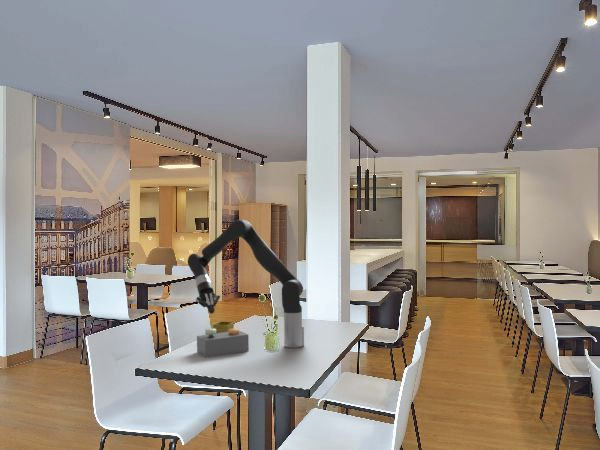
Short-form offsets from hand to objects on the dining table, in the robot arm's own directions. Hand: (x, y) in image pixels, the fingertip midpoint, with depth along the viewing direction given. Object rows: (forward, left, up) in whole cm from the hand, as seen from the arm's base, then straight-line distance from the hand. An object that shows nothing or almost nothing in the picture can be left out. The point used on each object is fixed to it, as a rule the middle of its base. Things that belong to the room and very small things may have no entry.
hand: (212, 312), depth 239 cm
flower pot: (-13, -17, -19) cm, 28 cm away
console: (-3, +7, -18) cm, 20 cm away
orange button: (-9, +7, -12) cm, 16 cm away
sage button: (+3, +7, -10) cm, 13 cm away
